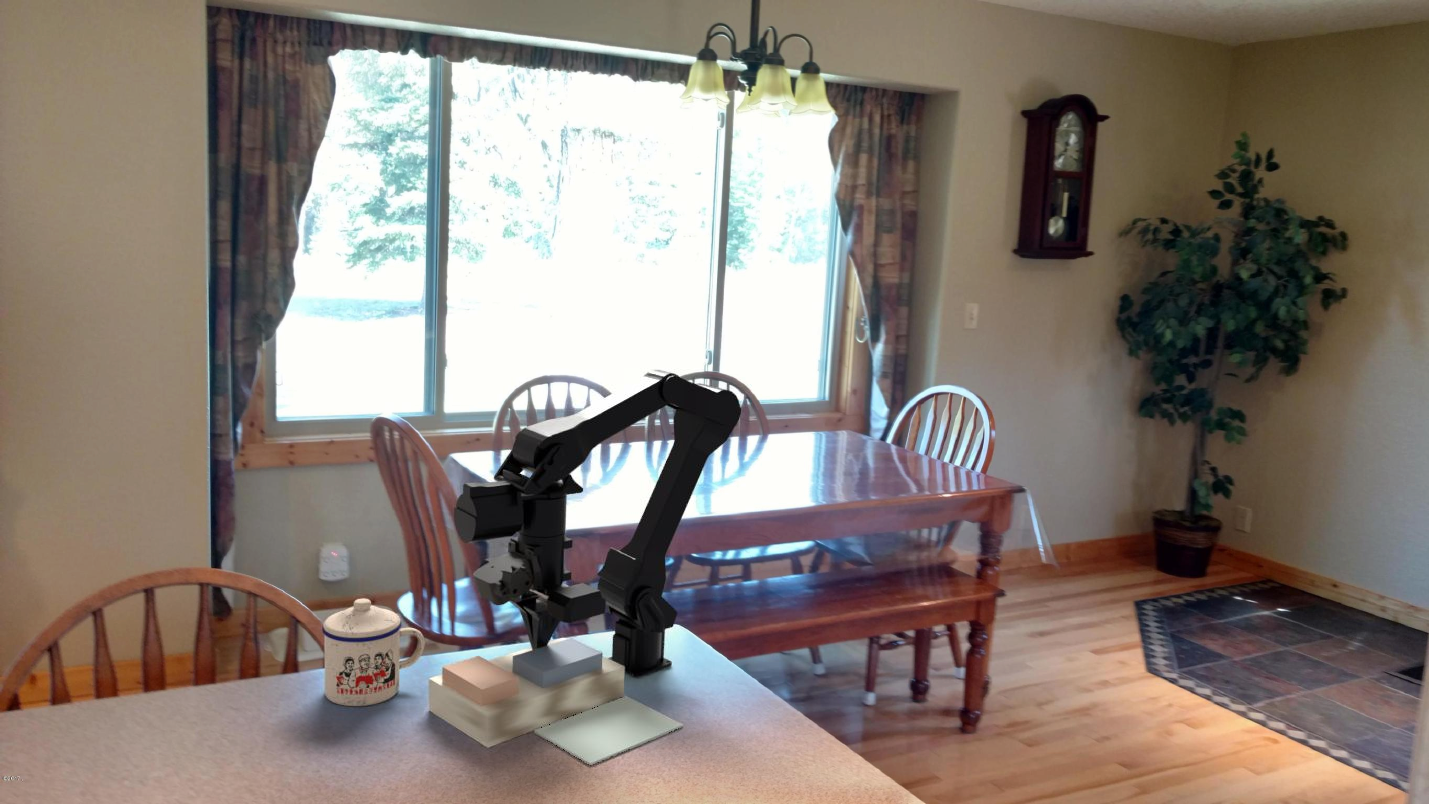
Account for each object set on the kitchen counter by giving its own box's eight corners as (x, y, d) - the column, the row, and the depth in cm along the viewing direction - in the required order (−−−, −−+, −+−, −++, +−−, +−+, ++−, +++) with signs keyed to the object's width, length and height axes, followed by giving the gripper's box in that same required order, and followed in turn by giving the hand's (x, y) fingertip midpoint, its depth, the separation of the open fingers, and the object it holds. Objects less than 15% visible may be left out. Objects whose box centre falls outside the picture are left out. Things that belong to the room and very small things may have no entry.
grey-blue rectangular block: (570, 653, 136) (571, 638, 135) (602, 668, 132) (602, 652, 131) (512, 671, 129) (512, 656, 129) (543, 688, 125) (543, 672, 125)
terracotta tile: (478, 671, 129) (478, 655, 129) (518, 693, 123) (518, 677, 123) (442, 682, 125) (442, 666, 125) (481, 706, 120) (481, 689, 120)
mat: (626, 698, 133) (626, 696, 133) (682, 727, 126) (682, 724, 126) (534, 732, 123) (534, 730, 123) (590, 766, 116) (590, 763, 116)
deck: (562, 666, 141) (563, 637, 141) (623, 697, 133) (624, 666, 132) (428, 710, 127) (429, 678, 126) (487, 747, 119) (488, 713, 118)
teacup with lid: (330, 714, 125) (329, 618, 123) (316, 683, 132) (315, 593, 131) (433, 696, 131) (434, 605, 129) (414, 668, 138) (415, 581, 136)
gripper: (441, 523, 131) (440, 645, 133) (533, 563, 118) (529, 696, 121) (517, 509, 139) (514, 624, 141) (611, 545, 126) (606, 670, 129)
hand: (538, 652), depth 133 cm, fingers closed
